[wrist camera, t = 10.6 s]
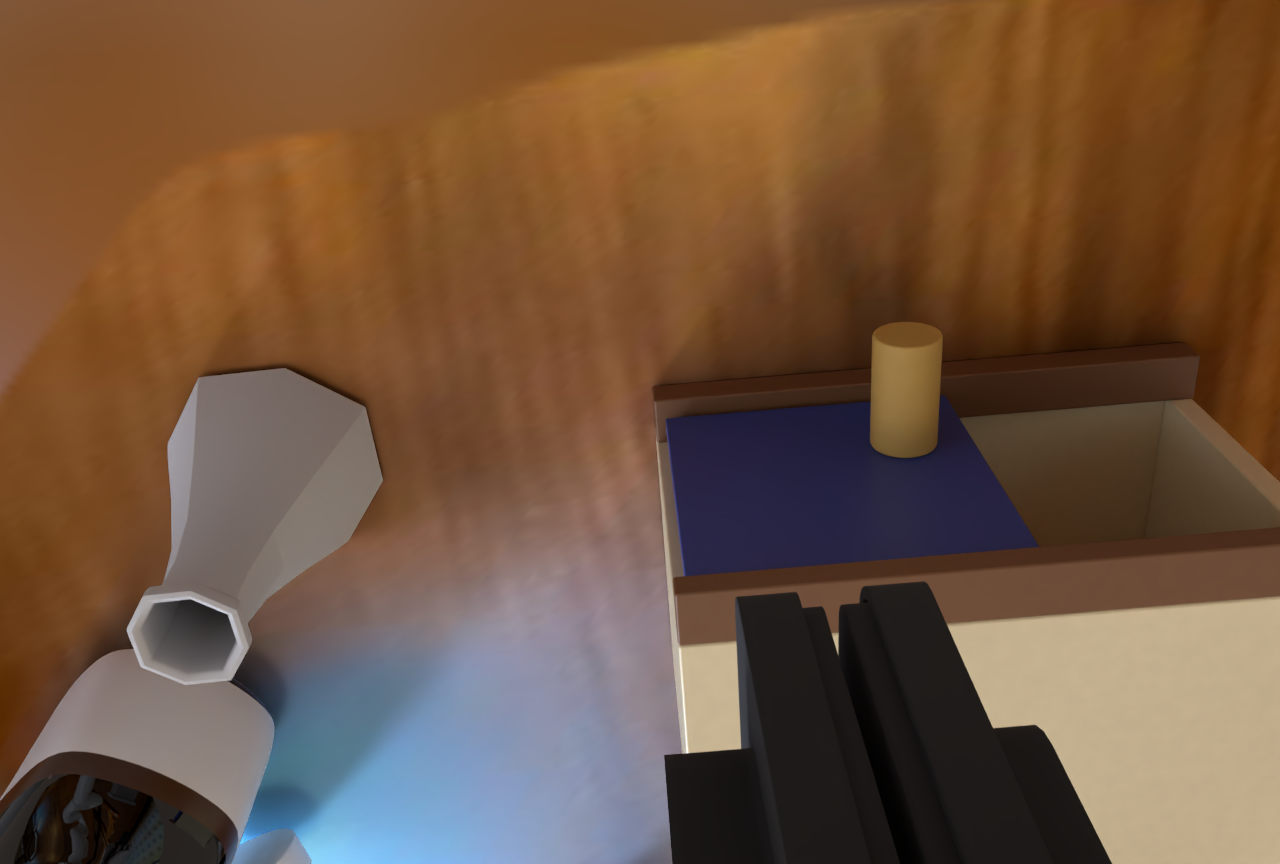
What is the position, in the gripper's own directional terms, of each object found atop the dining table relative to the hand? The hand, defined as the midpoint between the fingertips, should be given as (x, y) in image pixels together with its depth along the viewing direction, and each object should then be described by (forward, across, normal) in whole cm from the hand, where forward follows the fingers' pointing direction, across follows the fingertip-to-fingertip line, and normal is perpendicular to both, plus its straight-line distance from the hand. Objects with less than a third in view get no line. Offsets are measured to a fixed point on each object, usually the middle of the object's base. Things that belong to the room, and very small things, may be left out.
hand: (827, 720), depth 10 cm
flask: (+27, +14, +11) cm, 33 cm away
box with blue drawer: (+27, -8, +15) cm, 32 cm away
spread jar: (+27, +20, +24) cm, 41 cm away
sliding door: (+26, -4, +8) cm, 27 cm away
